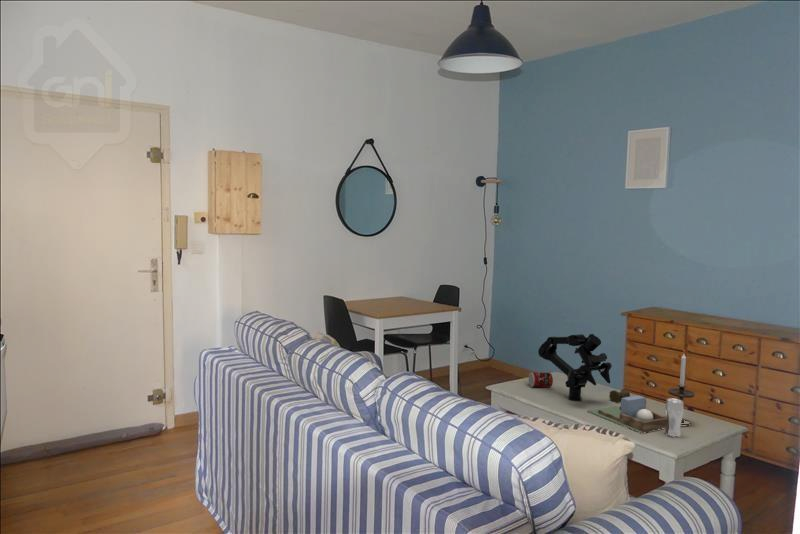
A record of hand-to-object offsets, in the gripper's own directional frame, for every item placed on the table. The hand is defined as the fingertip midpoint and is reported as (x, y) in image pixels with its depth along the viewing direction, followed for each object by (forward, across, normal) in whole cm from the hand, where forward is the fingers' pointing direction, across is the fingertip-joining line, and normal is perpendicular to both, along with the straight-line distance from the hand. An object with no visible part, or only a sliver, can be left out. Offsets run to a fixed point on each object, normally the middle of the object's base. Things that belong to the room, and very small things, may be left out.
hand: (602, 384), depth 283 cm
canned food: (-22, +4, +35) cm, 41 cm away
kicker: (+22, 0, -4) cm, 22 cm away
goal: (+20, 0, -3) cm, 20 cm away
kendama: (+7, +20, +11) cm, 24 cm away
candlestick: (+29, +18, -12) cm, 36 cm away
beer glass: (+36, +2, -18) cm, 40 cm away
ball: (+24, 0, -12) cm, 26 cm away
